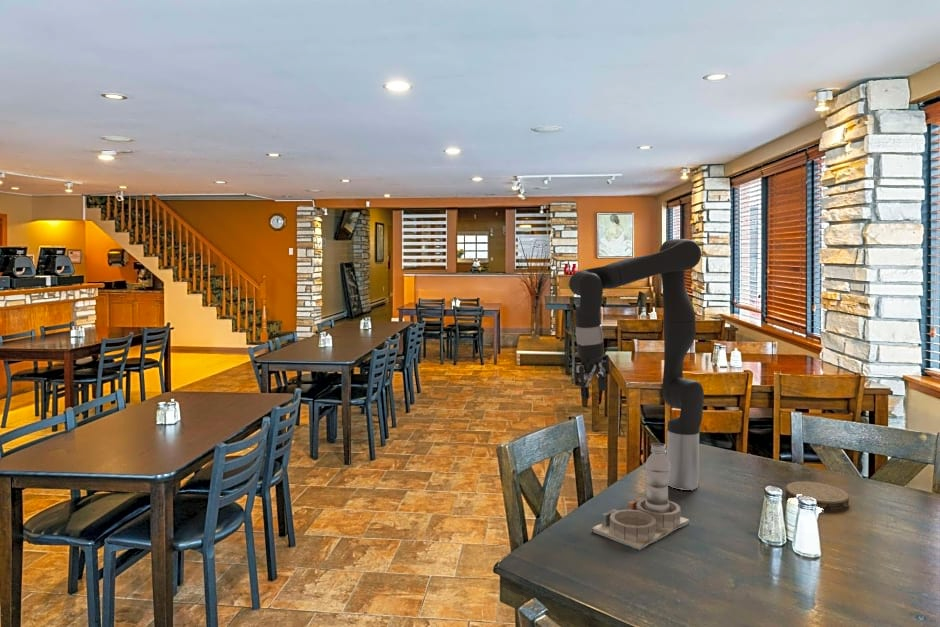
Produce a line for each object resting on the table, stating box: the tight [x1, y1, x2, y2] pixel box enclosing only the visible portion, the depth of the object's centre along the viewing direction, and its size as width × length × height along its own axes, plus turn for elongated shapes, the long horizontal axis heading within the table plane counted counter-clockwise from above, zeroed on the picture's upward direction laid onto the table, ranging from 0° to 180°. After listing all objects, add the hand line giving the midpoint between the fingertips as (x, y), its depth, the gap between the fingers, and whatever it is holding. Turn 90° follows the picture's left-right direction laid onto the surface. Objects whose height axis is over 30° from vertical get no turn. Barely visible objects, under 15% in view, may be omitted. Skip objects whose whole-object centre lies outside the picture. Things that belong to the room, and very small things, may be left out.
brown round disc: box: [785, 481, 850, 512], centre depth 184 cm, size 16×16×3 cm
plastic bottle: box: [645, 442, 671, 513], centre depth 168 cm, size 6×7×20 cm
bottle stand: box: [591, 497, 690, 548], centre depth 166 cm, size 23×14×5 cm, turn 131°
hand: (594, 394), depth 187 cm, fingers open, 8 cm apart
